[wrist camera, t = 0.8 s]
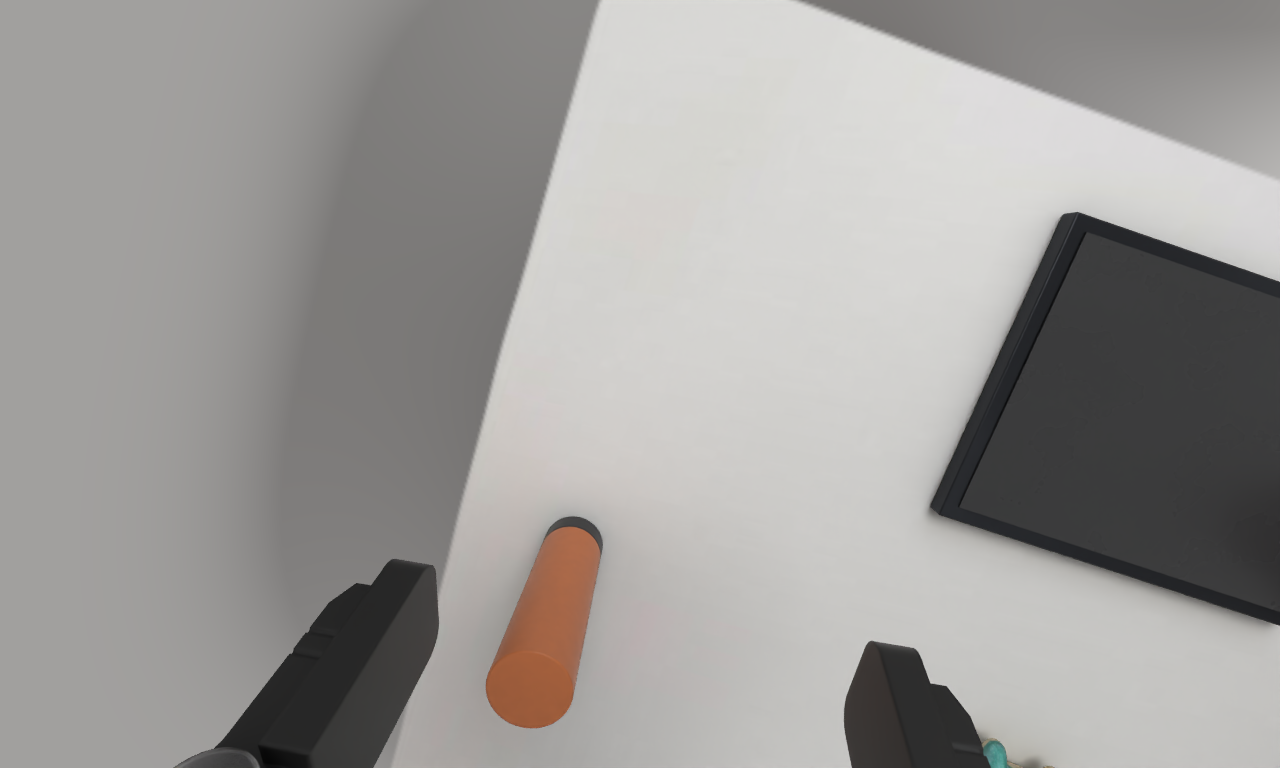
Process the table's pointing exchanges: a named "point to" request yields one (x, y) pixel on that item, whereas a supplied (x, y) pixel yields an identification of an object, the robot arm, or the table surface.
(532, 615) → the orange cylinder
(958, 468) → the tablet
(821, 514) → the table surface
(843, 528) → the table surface
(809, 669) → the table surface
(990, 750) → the whale figurine
